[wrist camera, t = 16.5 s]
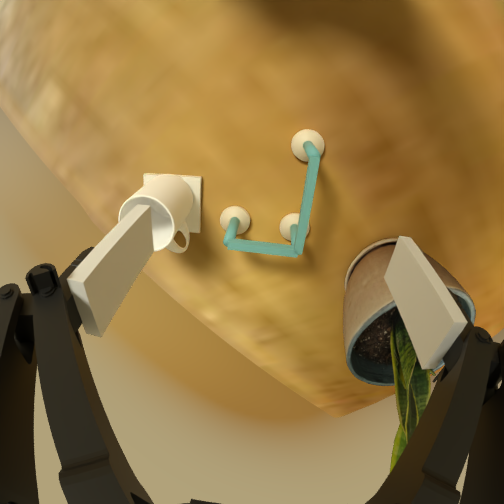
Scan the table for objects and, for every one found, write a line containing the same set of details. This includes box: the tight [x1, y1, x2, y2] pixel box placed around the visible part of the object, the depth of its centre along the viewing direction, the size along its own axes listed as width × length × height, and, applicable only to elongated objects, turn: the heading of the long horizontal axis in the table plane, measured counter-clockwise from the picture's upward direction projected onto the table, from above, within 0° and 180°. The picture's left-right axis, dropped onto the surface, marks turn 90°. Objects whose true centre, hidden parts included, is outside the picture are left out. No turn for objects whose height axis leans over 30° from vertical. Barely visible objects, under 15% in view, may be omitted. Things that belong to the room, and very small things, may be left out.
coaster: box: [143, 173, 202, 233], centre depth 48 cm, size 10×10×1 cm
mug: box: [119, 174, 193, 253], centre depth 43 cm, size 9×12×11 cm
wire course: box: [220, 129, 324, 257], centre depth 41 cm, size 19×15×9 cm
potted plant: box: [343, 237, 476, 472], centre depth 35 cm, size 21×22×40 cm
